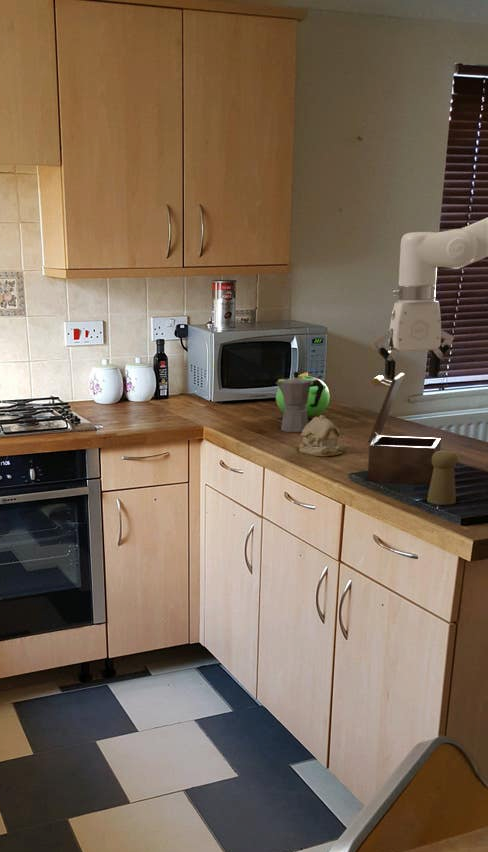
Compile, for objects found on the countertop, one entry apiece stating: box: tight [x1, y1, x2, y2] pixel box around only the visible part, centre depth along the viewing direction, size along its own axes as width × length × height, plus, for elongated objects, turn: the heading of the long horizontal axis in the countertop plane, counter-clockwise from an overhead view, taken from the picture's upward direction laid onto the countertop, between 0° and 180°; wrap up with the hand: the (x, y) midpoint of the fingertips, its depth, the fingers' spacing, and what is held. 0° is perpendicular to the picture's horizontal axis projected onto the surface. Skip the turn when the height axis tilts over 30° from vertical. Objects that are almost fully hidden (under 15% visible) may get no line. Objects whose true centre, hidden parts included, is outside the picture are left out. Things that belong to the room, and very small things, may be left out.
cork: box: [426, 450, 459, 506], centre depth 184 cm, size 6×6×11 cm
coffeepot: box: [275, 371, 324, 433], centre depth 272 cm, size 15×9×18 cm, turn 63°
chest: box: [367, 435, 442, 486], centre depth 206 cm, size 15×13×9 cm
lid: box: [367, 372, 405, 445], centre depth 205 cm, size 15×13×5 cm
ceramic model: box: [298, 414, 344, 457], centre depth 239 cm, size 14×11×10 cm
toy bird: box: [275, 372, 331, 419], centre depth 295 cm, size 18×17×15 cm
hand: (411, 377), depth 189 cm, fingers open, 9 cm apart
